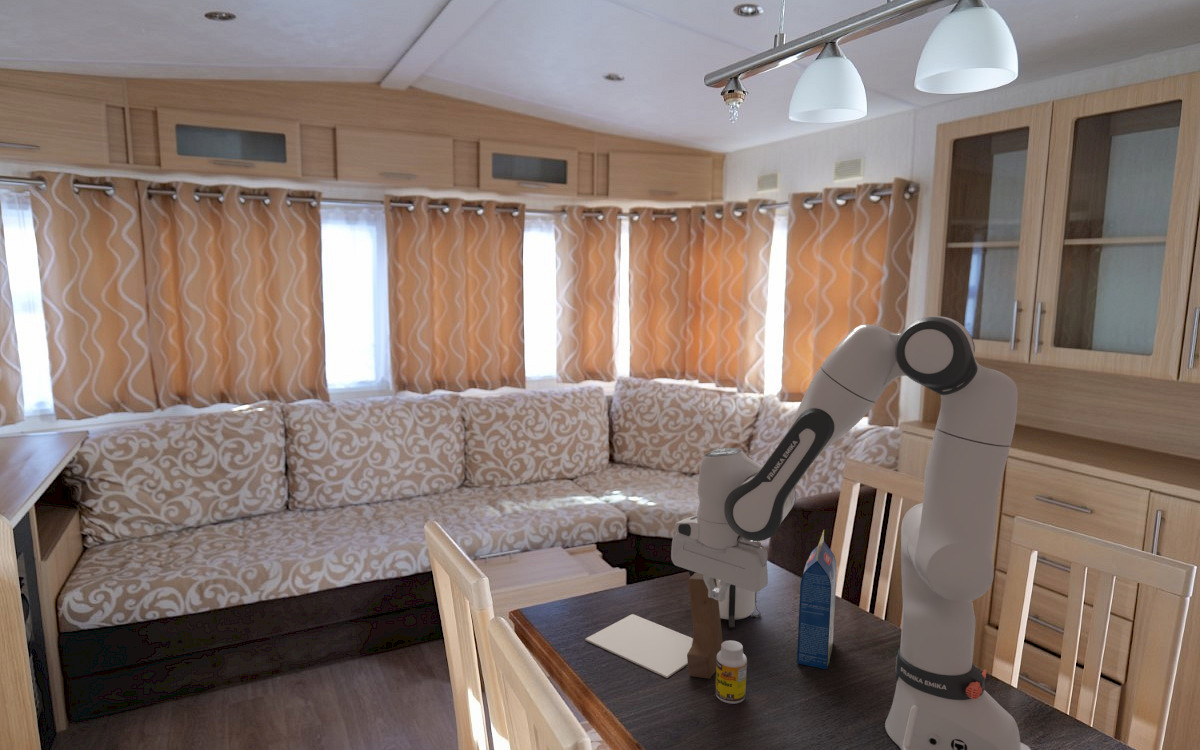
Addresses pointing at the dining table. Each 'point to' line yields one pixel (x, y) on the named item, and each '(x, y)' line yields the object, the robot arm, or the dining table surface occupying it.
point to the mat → (645, 644)
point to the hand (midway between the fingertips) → (716, 598)
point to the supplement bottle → (731, 672)
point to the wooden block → (703, 629)
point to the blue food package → (817, 608)
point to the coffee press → (736, 603)
